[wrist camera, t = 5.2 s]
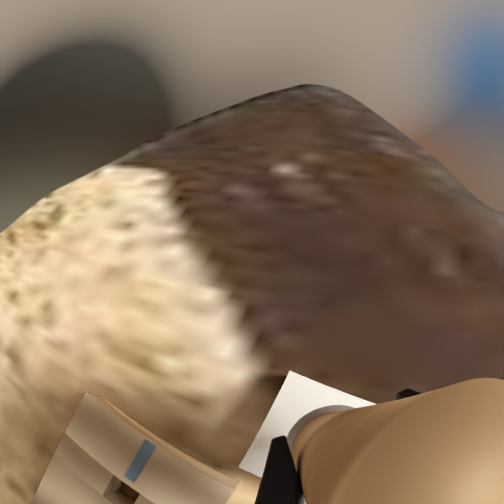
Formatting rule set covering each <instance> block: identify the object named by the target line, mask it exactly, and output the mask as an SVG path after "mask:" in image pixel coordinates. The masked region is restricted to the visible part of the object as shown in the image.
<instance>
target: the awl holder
mask: <svg viewBox="0 0 504 504" xmlns="http://www.w3.org/2000/svg"><path fill="white" fill-rule="evenodd" d="M330 405H345V406H350V407H354V408H360V407H365V406H371V405H376V404H374V403H372V402H369V401H366V400H363V399H360V398H357V397H355V396H352V395H349V394H347V393H344V392H341V391H339V390H336V389H334V388H331V387H328V386H326V385H323V384H321V383H318V382H316V381H313V380H311V379H308V378H306V377H304V376H301V375H299V374H296V373H294V372H292V371H289V373H288V375H287V377H286V379H285V381H284V384H283V386H282V388H281V390H280V391H279V393H278V395H277V397H276V399H275V401H274V403H273V405H272V407H271V409H270V411H269V413H268V415H267V417H266V418H265V420H264V422H263V424H262V426H261V428H260V430H259V431H258V433H257V435H256V437H255V439H254V441H253V442H252V444H251V446H250V448H249V449H248V451H247V453H246V455H245V456H244V458H243V460H242V462H241V463H240V465H239V468H241V469H243V470H245V471H247V472H250V473H252V474H254V475H256V476H259V477H261V478H262V475H263V471H264V467H265V464H266V460H267V456H268V452H269V448H270V444H271V440H272V439H273V438H275V437H279V436H282V435H284V436H286V438H287V435H288V433H289V431H290V430H291V428H292V427H293V426H294V424H295V423H296V422H297V421H298V420H299V419H300V418H302V417H303V416H304V415H306V414H307V413H309V412H311V411H313V410H315V409H318V408H321V407H325V406H330Z"/></svg>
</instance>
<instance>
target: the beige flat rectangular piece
mask: <svg viewBox="0 0 504 504" xmlns="http://www.w3.org/2000/svg"><path fill="white" fill-rule="evenodd" d="M123 482H124V483H125V484H127V485H128V486H130V487H131V488H132V489H134V490H135V491H137V492H138V493H140V495H139V496H138V498H137V500H136V501H135V502H134V501H133V500H131V499H130V498H129V497H127V496H126V495H124V494H123V493H122V492H120V491H119V489H120V487H121V485H122V483H123ZM238 483H239V481H237V480H235V479H233V478H231V477H228V476H226V475H224V474H222V473H220V472H218V471H216V470H214V469H213V468H211V467H209V466H207V465H205V464H203V463H201V462H199V461H198V460H196V459H194V458H192V457H191V456H189V455H187V454H185V453H184V452H182V451H180V450H179V449H177V448H175V447H174V446H172V445H170V444H169V443H167V442H166V441H164V440H162V439H161V438H159V437H158V436H156V435H155V434H153V433H152V432H150V431H149V430H147V429H146V428H144V427H143V426H141V425H140V424H138V423H137V422H136V421H134V420H133V419H131V418H130V417H129V416H127V415H126V414H125V413H123V412H122V411H121V410H119V409H118V408H117V407H115V406H114V405H113V404H111V403H110V402H109V401H108V400H106V399H105V398H104V397H102V396H98V395H93V394H89V393H85V395H84V397H83V398H82V400H81V402H80V404H79V406H78V408H77V410H76V411H75V413H74V415H73V417H72V419H71V421H70V423H69V425H68V427H67V429H66V431H65V433H64V435H63V437H62V439H61V440H60V443H59V445H58V447H57V449H56V451H55V453H54V455H53V457H52V459H51V461H50V463H49V465H48V467H47V469H46V472H45V474H44V476H43V478H42V480H41V483H40V485H39V487H38V489H37V492H36V494H35V496H34V499H33V501H32V503H31V504H226V502H227V501H228V499H229V497H230V496H231V494H232V493H233V491H234V489H235V488H236V486H237V485H238Z"/></svg>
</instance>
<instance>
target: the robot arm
mask: <svg viewBox="0 0 504 504" xmlns="http://www.w3.org/2000/svg"><path fill="white" fill-rule="evenodd" d="M419 394H422V393H419V392H416V391H414V390H411V389H405V390H403V391H401V392H399V393H397V395H396V400H399V399H403V398H407V397H411V396H415V395H419ZM255 504H305V501H304V496H303V492H302V489H301V486H300V481H299V478H298V474H297V471H296V467H295V464H294V460H293V457H292V454H291V451H290V448H289V445H288V441H287V438H286V436H284V435H282V436H279V437H275V438H273V439H272V440H271V444H270V448H269V452H268V456H267V460H266V464H265V467H264V471H263V475H262V479H261V483H260V486H259V490H258V494H257V497H256V501H255Z"/></svg>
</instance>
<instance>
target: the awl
mask: <svg viewBox="0 0 504 504" xmlns="http://www.w3.org/2000/svg"><path fill="white" fill-rule="evenodd" d="M287 441H288V445H289V448H290V451H291V454H292V457H293V460H294V464H295V467H296V471H297V474H298V478H299V481H300V486H301V489H302V492H303V495H304V498H305V501H306V504H504V380H501V379H496V378H479V379H471V380H468V381H464V382H460V383H457V384H454V385H450V386H447V387H444V388H441V389H437V390H434V391H430V392H427V393H423V394H419V395H415V396H411V397H407V398H403V399H399V400H395V401H390V402H385V403H381V404H376V405H371V406H365V407H360V408H354V407H350V406H345V405H330V406H325V407H321V408H318V409H315V410H313V411H311V412H309V413H307V414H306V415H304V416H303V417H302V418H300V419H299V420H298V421H297V422H296V423H295V424H294V426H293V427H292V428H291V430H290V431H289V433H288V435H287Z"/></svg>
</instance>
